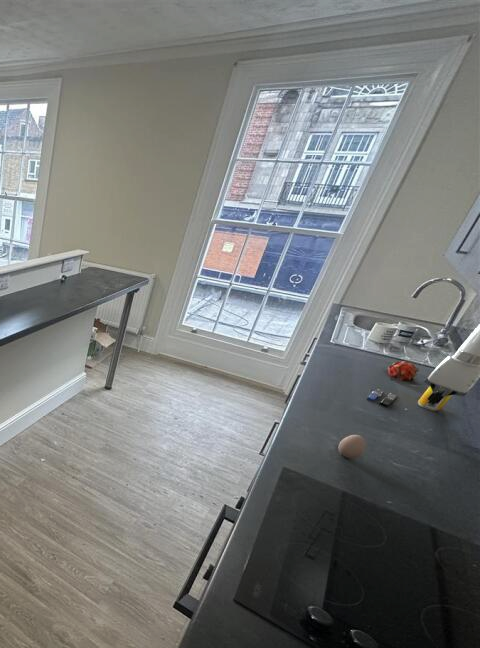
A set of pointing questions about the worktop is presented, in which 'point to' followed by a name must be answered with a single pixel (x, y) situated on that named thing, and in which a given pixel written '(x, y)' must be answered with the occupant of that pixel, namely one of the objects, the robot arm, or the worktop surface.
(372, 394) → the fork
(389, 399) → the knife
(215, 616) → the worktop surface
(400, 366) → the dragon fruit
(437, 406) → the beer can
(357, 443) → the egg
